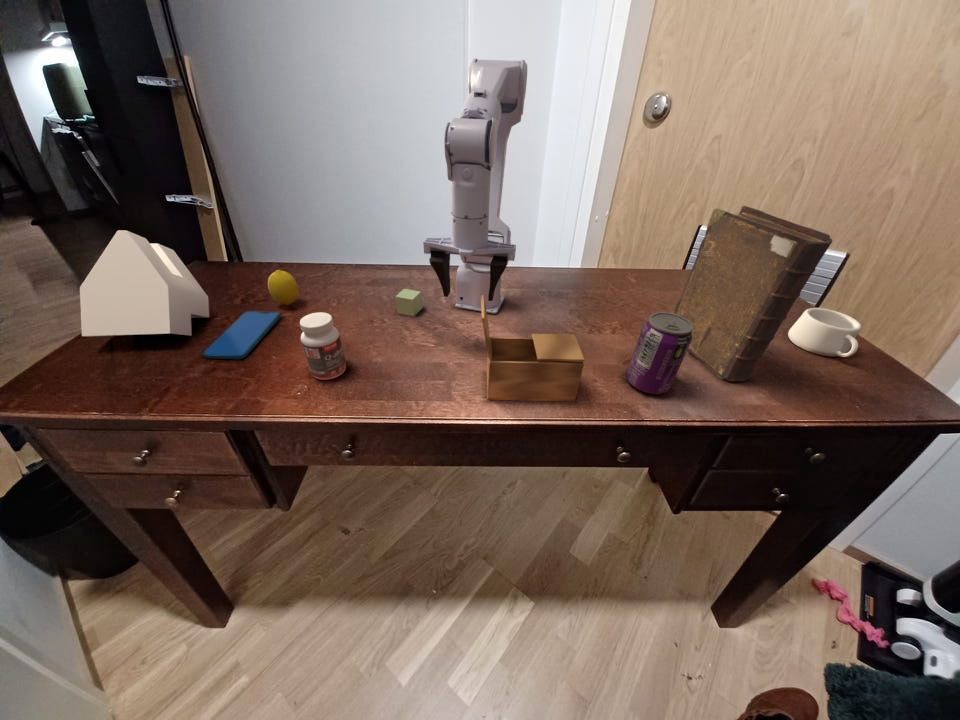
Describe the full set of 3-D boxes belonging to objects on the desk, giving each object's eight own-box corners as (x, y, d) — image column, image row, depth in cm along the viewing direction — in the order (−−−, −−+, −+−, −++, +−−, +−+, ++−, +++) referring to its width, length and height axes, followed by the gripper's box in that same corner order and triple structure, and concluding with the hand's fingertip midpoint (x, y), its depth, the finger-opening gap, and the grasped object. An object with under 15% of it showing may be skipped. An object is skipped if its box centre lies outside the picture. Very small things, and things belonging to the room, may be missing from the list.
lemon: (268, 307, 78) (256, 272, 74) (288, 297, 83) (278, 263, 78) (288, 313, 77) (277, 277, 72) (308, 302, 81) (298, 267, 76)
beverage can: (673, 400, 58) (702, 337, 51) (627, 393, 59) (650, 331, 52) (664, 373, 64) (690, 313, 57) (622, 367, 65) (642, 307, 58)
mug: (775, 331, 77) (790, 305, 73) (819, 331, 77) (836, 306, 74) (819, 365, 67) (839, 338, 64) (869, 366, 68) (892, 339, 64)
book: (753, 383, 63) (844, 237, 48) (716, 386, 62) (797, 238, 47) (693, 331, 76) (750, 204, 61) (662, 333, 75) (711, 205, 60)
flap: (491, 358, 52) (488, 358, 52) (489, 333, 58) (487, 333, 58) (484, 317, 48) (481, 318, 48) (483, 294, 54) (481, 295, 54)
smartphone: (199, 354, 63) (245, 310, 75) (202, 359, 63) (247, 314, 75) (242, 356, 63) (281, 312, 75) (244, 360, 63) (283, 316, 75)
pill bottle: (336, 383, 59) (323, 331, 53) (304, 378, 60) (287, 327, 54) (352, 362, 64) (341, 312, 58) (322, 358, 64) (308, 308, 59)
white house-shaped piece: (210, 337, 74) (206, 249, 75) (170, 333, 63) (165, 230, 64) (135, 340, 73) (132, 250, 73) (81, 336, 62) (77, 230, 62)
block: (397, 313, 78) (395, 296, 76) (406, 304, 81) (404, 288, 79) (414, 316, 77) (412, 299, 75) (422, 308, 80) (421, 291, 78)
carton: (487, 400, 57) (489, 357, 52) (486, 372, 63) (488, 332, 58) (574, 401, 58) (585, 359, 53) (566, 374, 63) (575, 334, 58)
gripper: (415, 217, 52) (421, 302, 60) (516, 225, 51) (509, 311, 59) (428, 205, 58) (432, 284, 66) (519, 212, 56) (512, 292, 64)
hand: (468, 296), depth 63 cm, fingers open, 7 cm apart
